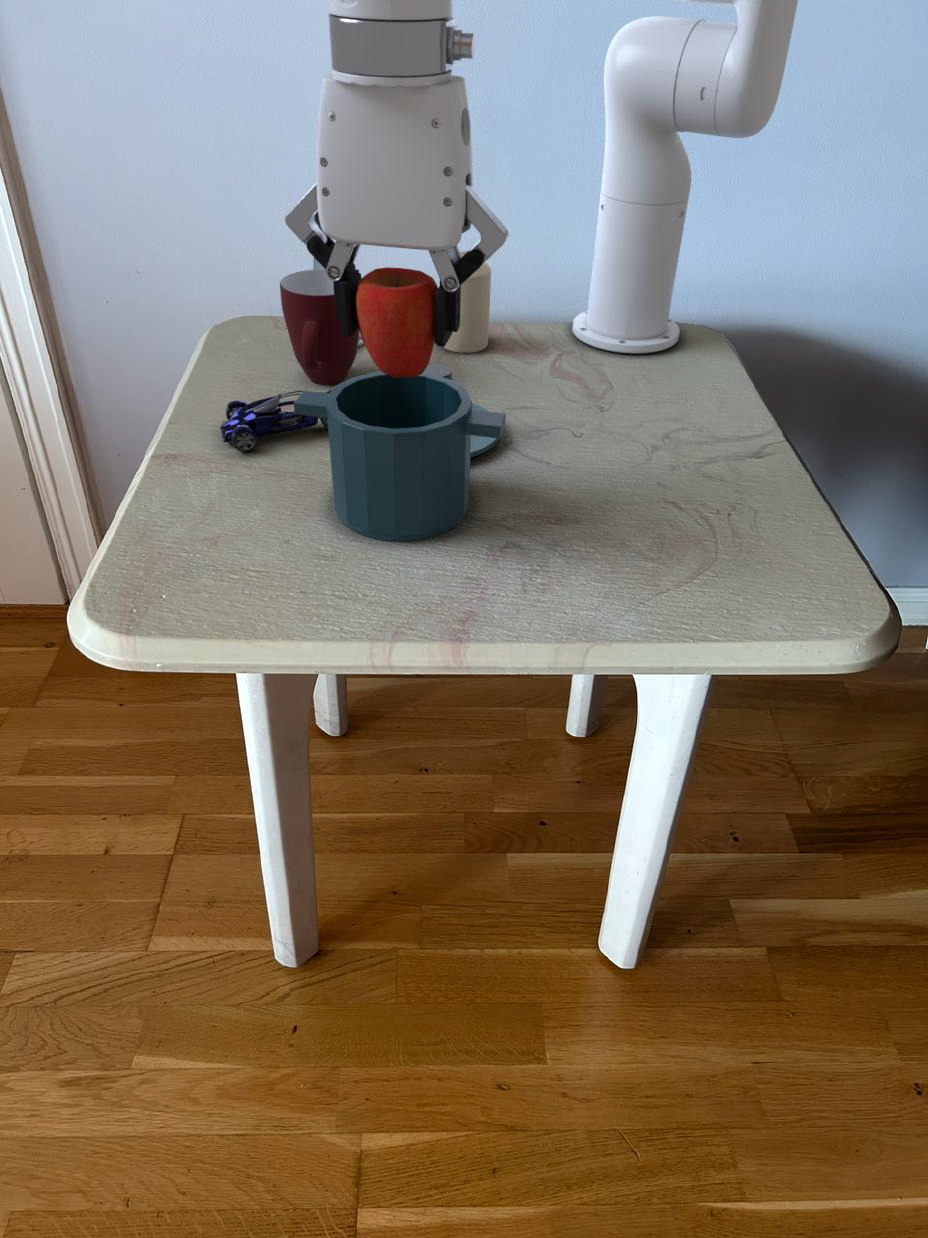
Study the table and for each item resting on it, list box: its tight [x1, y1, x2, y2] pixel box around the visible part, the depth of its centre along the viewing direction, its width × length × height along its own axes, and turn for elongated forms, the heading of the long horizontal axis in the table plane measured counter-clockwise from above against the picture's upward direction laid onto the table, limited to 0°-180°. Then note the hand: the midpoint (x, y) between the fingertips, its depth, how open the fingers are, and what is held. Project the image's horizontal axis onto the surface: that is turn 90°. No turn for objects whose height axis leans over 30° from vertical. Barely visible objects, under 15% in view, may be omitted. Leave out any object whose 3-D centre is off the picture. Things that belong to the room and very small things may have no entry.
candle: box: [443, 250, 492, 354], centre depth 100 cm, size 6×6×10 cm
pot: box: [293, 371, 507, 542], centre depth 73 cm, size 11×17×10 cm
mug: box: [279, 269, 360, 385], centre depth 91 cm, size 11×8×10 cm
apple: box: [355, 266, 439, 378], centre depth 66 cm, size 6×6×8 cm
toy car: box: [219, 389, 332, 453], centre depth 84 cm, size 12×6×4 cm, turn 107°
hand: (398, 332), depth 66 cm, fingers closed on apple, 6 cm apart
